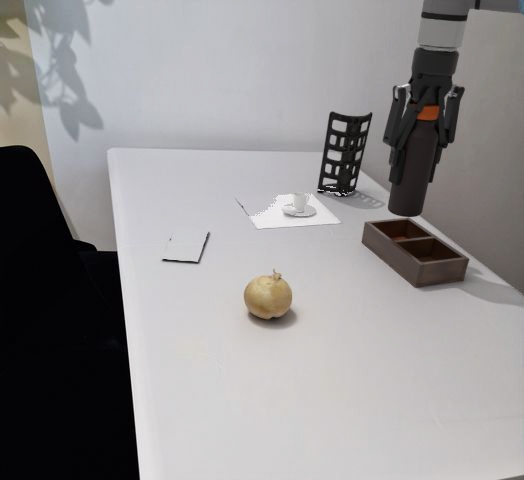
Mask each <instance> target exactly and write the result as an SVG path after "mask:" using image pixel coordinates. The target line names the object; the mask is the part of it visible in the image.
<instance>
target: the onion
mask: <svg viewBox="0 0 524 480" xmlns="http://www.w3.org/2000/svg"><path fill="white" fill-rule="evenodd" d="M275 270H276V269H275V268H273V269H272V272H273V274H271V275H260V276H259V275H258V276H256V277H255V278H253V279H251V280H250V281H249V282H248V283H247V285H246V286H245V288H244V291H243V301H244V305H245V306H246V308H247V310H248V311H249V312H250V313H251V314H252V315H254V316H255V317H257V318H260V319H262V320H263V319H264V320H271V319H272V318H280V317H282V316H284V315H285V314H286V313H287V312H288V311H289V309H290V308H291V306H292V303H293V291H292V288H291V286H290V285H289V283H288V282H287V281H286V280H285V279H284V278H283V277H282V275H283V274H282V273H281V272H276V271H275Z"/></svg>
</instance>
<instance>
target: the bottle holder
mask: <svg viewBox="0 0 524 480" xmlns="http://www.w3.org/2000/svg"><path fill="white" fill-rule="evenodd" d="M361 244H363V245H364V246H365V247H366V248H367V249H369V250H370V251H371V252H373V254H375V256H377V257H378V258H380V260H382V262H384V263H385V264H386V265H388V266H389V267H390V268H391V269H393V271H395V272H396V273H397V274H398V275H399V276H400V277H402V278H403V279H404V280H405V281H407V283H409V284H410V285H411V286H412V287H414V288H421V287H429V286H436V285H443V284H451V283H456V282H464V279H465V277H466V273H467V270H468V266H469V263H470V258H469V257H468V256H466V255H465V254H464V253H462V252H461V251H459V249H456V248H455V247H453V246H452V245H450V244H449V243H448V242H446V241H444V240H443V239H441V238H440V237H439V236H437V235H436V234H434V233H432V232H431V231H430V230H428V229H427V228H425V227H423V225H421V224H420V223H418V222H416V221H415V220H414V219H413V218H412V217H401V218H399V217H398V218H391V219H380V220H370V221H364V224H363V230H362V238H361Z"/></svg>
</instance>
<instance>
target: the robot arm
mask: <svg viewBox="0 0 524 480" xmlns="http://www.w3.org/2000/svg"><path fill="white" fill-rule="evenodd" d="M470 10H476V11H480V10H482V11H489V12H500V13H509V14H512V13H513V14H521V15H522V16H524V0H423V3H422V9H421V14H420V19H419V24H418V30H417V35H416V41H415V42H416V44H417V45H418V47H417V46H416V48H415V49H414V51H413V57H412V61H411V69H410V70H411V76H410V78H409V79H408V81H407V83H406V84H402V85H399V84H395V85H394V86H393V87H392V101H391V105H390V109H389V113H388V117H387V121H386V125H385V129H384V132H383V136H382V143H383V144H384V145H386V146H389V147H390V151H389V158H388V165H389V166H390V170H389V174H388V175H389V176H388V182H389V183H391V184H392V183H393V184H394V185H399V183H400V178H401V173H402V168H403V163H404V157H405V152H406V150H405V149H403V145H404V143H405V141H406V139H407V137H408V135H409V133H410V131H411V129H412V127H413V125H414V123H415V121H416V119H417V116H418V114H419V113H421V112H422V110H423V107H424V106H433V105H437V106H439V113H438V117H437V119H436V120H437V121H436V122H435V123H434V128H435V130H436V131H437V133H438V136H439V138H438V142H437V147H436V151H435V156H434V160H433V165H432V169H431V174H430V178H429V183H428V184H433V181H434V178H435V172H436V168H437V165H439V164H440V162H441V158H442V155H443V150H446V149H447V148H448V146H449V144H453V143H454V142H455V140H456V139H455V138H456V132H457V126H458V118H459V113H460V106H461V101H462V98H463V96H464V93H465V91H466V88H465V87H464V86H462V85H459V84H454V83H453V76H454V75H455V74H456V71H457V67H458V63H459V58H460V53H459V51H458V49H460V48H461V47H462V45H463V41H464V36H465V31H466V27H467V22H468V21H467V20H468V17H469V13H470ZM409 96H410V97H409ZM445 98H446V100H445ZM407 99H408V101H407ZM413 103H414V104H416V105H417V106H414V105H412V104H413ZM405 108H406V109H405Z"/></svg>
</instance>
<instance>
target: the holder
mask: <svg viewBox="0 0 524 480" xmlns="http://www.w3.org/2000/svg"><path fill="white" fill-rule="evenodd" d="M372 119H373V112H372V111H370V112H369V113H368V114H365V115H347V114H342V113H339V112H336V111H332V110H331V111H330V112H329V116H328V121H327V127H326V133H325V140H324V147H323V152H322V159H321V166H320V171H319V177H318V182H317V188H316V190H317V189H320V190H324V191H330V192H339V193H340V194H342V193H345V194H347V192H352V191H353V192H354V191H355V190H356V189H357V184H358V180H359V176H360V171H361V167H362V161H363V158H364V153H365V149H366V144H367V140H368V136H369V132H370V127H371V123H372ZM334 121H338V122H341V123H346V126H345V131H342V130H338V129H334V128H333V123H334ZM364 123H367V124H366V125H367V126H366V129H365V130H363V131H362V127H363V124H364ZM332 136H335V143H334V144H332V143H331V137H332ZM343 138H344V139H343ZM342 139H343V145H342V146H341V141H342ZM330 150H331V151H334V152H338V153H341V155H340V159H339V160H337V159H333V158H329V157H328V156H329V151H330ZM359 152H360V155H359V158H358V159H356V157H357V153H359ZM327 165H329V166H330V165H331V168H330V172H327V171H326V168H327V167H326V166H327ZM337 167H338V172H337ZM336 172H337V174H336ZM325 179H328V180H333V181H336V183H335V182H334V183H327V184H324V180H325ZM353 180H354V182H353V185H351V184H352V181H353ZM326 186H333V187H336V188H330V187H326ZM355 188H356V189H355ZM343 190H344V191H343ZM353 192H352V193H353ZM334 195H335V196H337V195H336V194H334ZM343 196H344V197H345V198H346V197H347V196H345V195H343ZM338 197H339V198H341V197H342V196H338Z"/></svg>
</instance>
